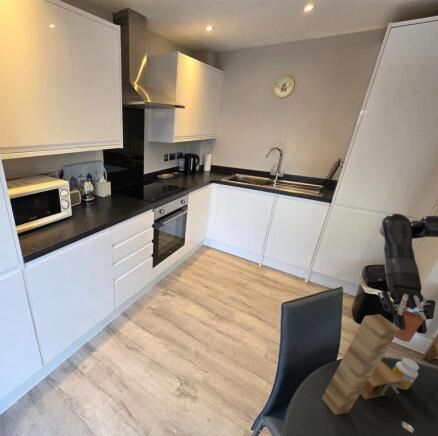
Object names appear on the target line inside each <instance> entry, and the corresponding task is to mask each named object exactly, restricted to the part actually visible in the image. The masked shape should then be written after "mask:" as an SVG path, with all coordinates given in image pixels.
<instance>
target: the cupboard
mask: <svg viewBox="0 0 438 436" xmlns="http://www.w3.org/2000/svg"><path fill="white" fill-rule="evenodd" d="M392 369H393V368H390V367H389V366H388V365H387V364H386V363H385V362H383V360H382V359H381V360H380V362H379V363H378V365H377V367H376V368H375V370H374V372H373V373H372V375H371V376H370V378H369V380H368V381H367V383H366V385H365V386H364V388H363V389H362V391H361V393H360V394H359V395H361V397H362V398H363V399H364V400H368V399H373V398H379V397H383V396H386V395H385V394H383V395H381V394H380V392H381V390H382V389H383V387H384V386H385V384H391V383H396V382H398V383H399V384H398V386H397V387H396V389H397V390H398V388H399V385H400V384H401V383H402V381H403V379H402V378H401V377H400V376H398V375H397V374H396V373H395V372H394V371H393V370H392Z"/></svg>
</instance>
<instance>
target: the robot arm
mask: <svg viewBox="0 0 438 436" xmlns="http://www.w3.org/2000/svg"><path fill="white" fill-rule="evenodd" d="M378 232H379V235H381V236H382V237H383V239H384V244H383V255H384V256H383V257H384V271H385V272H384V273H385V279H386V286H387V288H388V290H387V291H379V292H377V296H378V298H379V301H380V302H381V305H382V308H383V310H384V312H386V313H388V314H391V315H392V316H393V324H394V325H395V326H397V327H398V328H400V329H401V330H405V323H404V316H402V314H403V311H405V309H406V308H408V310H409V312H412V313H415V314H417V315H418V316H420V317H421V318H422V319H423V322H422V324H421V325H420V327H419V328H418V330H417V331H416V333H417V334H421V335H423V334H424V335H425V334H427V332H428V327H427V322H426V321H427V320H433V319H434V317H435V311H436V305H437V304H436V301H435V300H434V299H428V298H426V297H424V295H423V294H422V289H423V288H422V281H421V276H420V271H419V267H418V264H417V261H416V256H415V251H414V248H413V240H415V239H416V240H417V239H422V238H438V215H423V216H420V217H419V218H418V219H414V220H412V219H411V220H410V219H409V218H408V216H406V215H404V214H402V213H390V214H388V215H386V216H385V217H384V218H382V220H381V222H380V225H379V228H378Z"/></svg>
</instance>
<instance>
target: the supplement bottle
mask: <svg viewBox="0 0 438 436" xmlns="http://www.w3.org/2000/svg"><path fill="white" fill-rule="evenodd" d="M391 369H392V370H393V371H394V372H395V373H396V374H397V375H398V376H400V377H401V378H402V379H403V381H402V383H401V384H400V385H399V387H398V388H399V389H401V390H409V389H410V388H411V386H412V385H413V383H414V382H415V381H416V379H417V377H418V376H419V369H420V366H419V365H418V363H416V362H415V361H414V360H412V359H410V358H407V357H404V358H402V359H401V361H397V362H396V363H395V365H394V366H393V368H391Z"/></svg>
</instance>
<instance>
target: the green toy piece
mask: <svg viewBox="0 0 438 436" xmlns="http://www.w3.org/2000/svg"><path fill="white" fill-rule="evenodd" d="M398 384H399V383H398V382H396V383H391V384H385V386H384V387H383V389H382V390H381V392H380V394H381V395H383V394H385V395H384V396H386V397H387V398H388V399H389V400H390V401H395V399H397V397H398V395H399V394H400V390H398V388H397V389H396V387H397V386H398Z"/></svg>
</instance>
